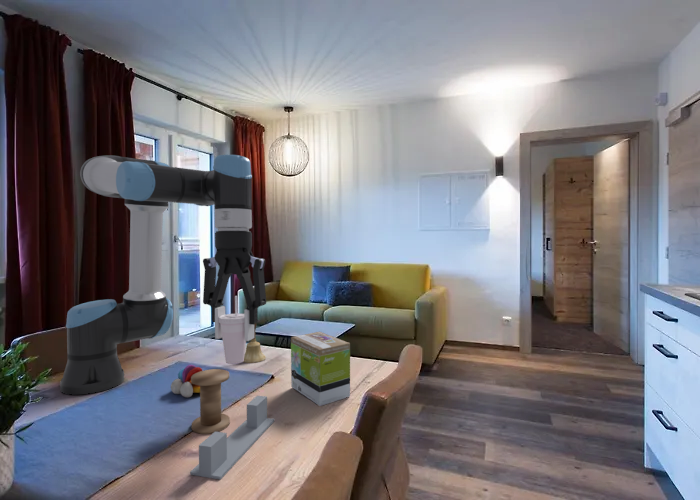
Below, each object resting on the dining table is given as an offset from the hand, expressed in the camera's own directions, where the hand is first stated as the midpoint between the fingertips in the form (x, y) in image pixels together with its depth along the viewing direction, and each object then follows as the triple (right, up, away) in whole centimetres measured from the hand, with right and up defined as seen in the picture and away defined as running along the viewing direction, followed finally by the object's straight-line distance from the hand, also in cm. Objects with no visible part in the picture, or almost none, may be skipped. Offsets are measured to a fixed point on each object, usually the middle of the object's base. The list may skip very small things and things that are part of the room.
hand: (234, 338), depth 83 cm
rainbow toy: (-18, -20, +22) cm, 35 cm away
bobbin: (-6, -20, +4) cm, 22 cm away
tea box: (+16, -20, +22) cm, 34 cm away
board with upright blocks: (+2, -21, -4) cm, 21 cm away
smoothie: (0, -5, 0) cm, 5 cm away
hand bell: (-9, -19, +51) cm, 55 cm away
